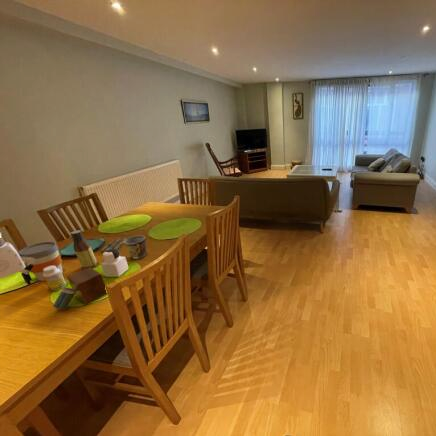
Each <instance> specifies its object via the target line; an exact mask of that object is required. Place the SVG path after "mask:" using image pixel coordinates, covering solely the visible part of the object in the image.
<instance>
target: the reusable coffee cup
mask: <svg viewBox="0 0 436 436" xmlns="http://www.w3.org/2000/svg"><path fill="white" fill-rule="evenodd" d="M18 254H19V256H20V257H30V258H35V259H36V261H35V264H34V265H33V268H32V269H31V271H30V273H32V274H33V275H34V277H35V278H36V280H37V281H40V282H44V281H45V279H44V277H43V274H44V271H43V269H44V268H46V267H48V266H56V268H57V269H60V271H61V273H62V274H63V273H64V271H63V265H62V263H63V262H62V257H61V256H62V255H61V256H60V253H59V247H58V245H57V243H56V242H55V241H44V242H39V243H34V244H31V245H28V246H26V247H23V248H22V249H20V250H19V251H18ZM23 263H24V265H25V267H26V266H27V264H28V263H29V262H26V261H23ZM45 282H46V281H45Z"/></svg>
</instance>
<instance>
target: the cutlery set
mask: <svg viewBox="0 0 436 436" xmlns="http://www.w3.org/2000/svg"><path fill="white" fill-rule="evenodd" d="M126 239H127V237H124V238H123V239H122V240H121V238H120V237H118V238H117V240H115V238H113V239H112V240H111V241H110V242H107V244H106V245H105V246H104V247H103V248H102V249H101V252H104V251H105V249H106V251H107V250H110V249H117V250H118V249H119V248H120V247H121V245H122V244H124V241H125V240H126ZM85 240H87V241H88V242H89V245H90V246H91V249H92V251H93V252H94V251H95V250H97V249H99V248H100V247H102V246H103V245H104V243H105V242H106V240H105V239H103V238H85ZM120 240H121V241H120ZM114 241H115V242H114ZM119 241H120V242H119ZM113 242H114V243H113ZM118 242H119V243H118ZM112 243H113V244H112ZM117 243H118V244H117ZM111 244H112V245H111ZM58 252H59V253H60V256H61V258H62V257H63V256H66V257H72V256H77V255H76V253H75V250H74V242H71V243H69V244H67V245H66V246H63V247H62V248H61V249H60V250H58Z"/></svg>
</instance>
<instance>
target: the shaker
mask: <svg viewBox="0 0 436 436" xmlns="http://www.w3.org/2000/svg"><path fill="white" fill-rule="evenodd" d="M76 291H77V290H75V289H72V288H71V287H63V288H61V291H60V293H59V295H58V297H57V298H56V300H55V301H54V303H53V305H52V308H54V309H57V310H66V309H68V308H69V306H70V304H71V302H72V300H73V299H74V297H75V293H76Z"/></svg>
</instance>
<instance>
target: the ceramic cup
mask: <svg viewBox="0 0 436 436" xmlns="http://www.w3.org/2000/svg"><path fill="white" fill-rule="evenodd" d="M146 240H147V239H146V236H144V235H134V236H130V237H128V238H126V240H125V241H124V242H123V244H124V246H125V248H126V249H127V251H128V253H129V254H130V256H131V258H132V259H134V260H138V259H142V258H144V257H145V256H146V255H147V241H146Z"/></svg>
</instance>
